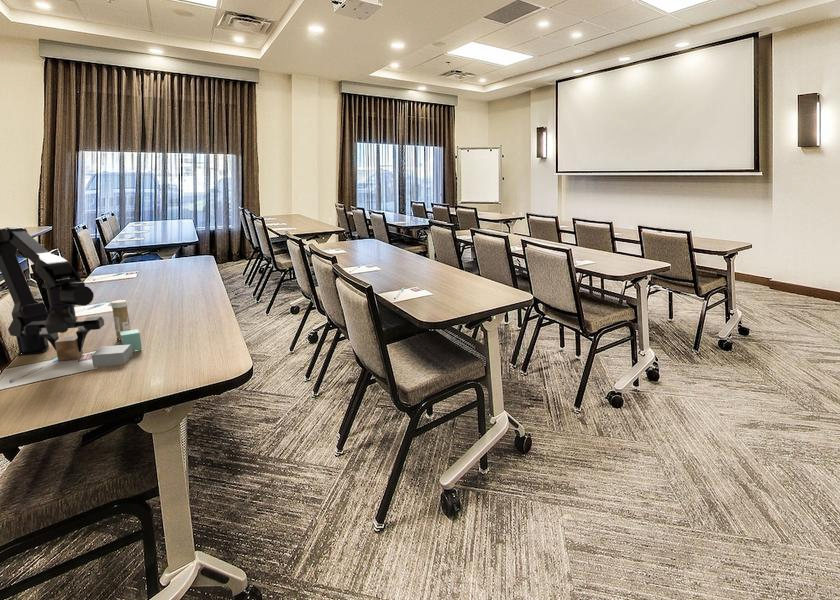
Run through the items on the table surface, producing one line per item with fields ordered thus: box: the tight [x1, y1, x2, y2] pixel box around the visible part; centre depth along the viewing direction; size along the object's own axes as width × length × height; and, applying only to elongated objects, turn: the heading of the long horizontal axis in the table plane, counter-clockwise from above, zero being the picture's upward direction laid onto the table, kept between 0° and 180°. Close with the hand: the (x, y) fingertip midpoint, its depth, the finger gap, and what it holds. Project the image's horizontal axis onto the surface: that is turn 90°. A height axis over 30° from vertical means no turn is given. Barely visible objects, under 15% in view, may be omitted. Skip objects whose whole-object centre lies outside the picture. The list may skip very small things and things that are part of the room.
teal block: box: [120, 328, 143, 351], centre depth 150 cm, size 5×5×6 cm
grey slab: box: [91, 344, 134, 368], centre depth 140 cm, size 8×8×4 cm
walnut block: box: [55, 335, 84, 362], centre depth 143 cm, size 5×5×6 cm
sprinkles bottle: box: [110, 299, 131, 340], centre depth 160 cm, size 5×5×13 cm
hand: (70, 352), depth 143 cm, fingers closed on walnut block, 5 cm apart
